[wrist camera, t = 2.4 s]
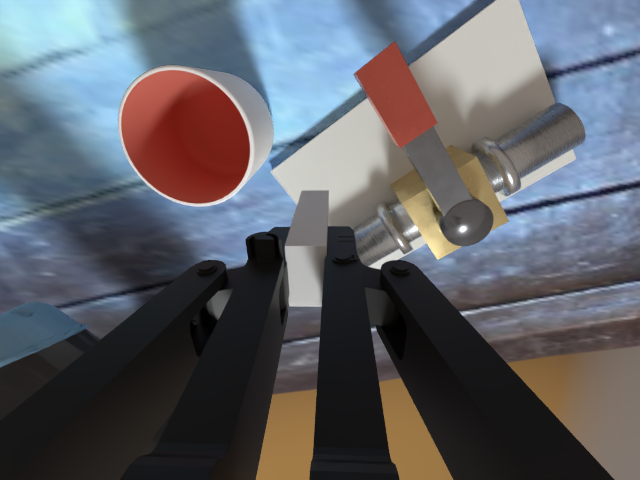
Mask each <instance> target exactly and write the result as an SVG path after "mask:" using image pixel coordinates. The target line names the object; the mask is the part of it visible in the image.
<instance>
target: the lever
mask: <svg viewBox="0 0 640 480" xmlns="http://www.w3.org/2000/svg"><path fill="white" fill-rule="evenodd" d="M353 75H354V77H355V78H356V80H357V82H358V83H359V85H360V87H361V88H362V90H363V92H364V93H365V95H366V97H367V98H368V100H369V102H370V103H371V105H372V107H373V108H374V110H375V112H376V113H377V115H378V117H379V118H380V120H381V122H382V123H383V125H384V127H385V128H386V130H387V132H388V133H389V135H390V137H391V138H392V140H393V142H394V143H395V145H396V146H398V147H399V148H402V149H403V150H404V152H405V154H406V155H407V157H408V159H409V160H410V162H411V164H412V165H413V167H414V169H415V171H416V172H417V174H418V176H419V177H420V179H421V181H422V182H423V184H424V186H425V187H426V189H427V191H428V193H429V194H430V196H431V198H432V199H433V201H434V203H435V204H436V206H437V208H438V209H439V210H438V212H437V215H436V224H437V227H438V229H439V230H440V231H441V233H442V234H443V235H444V236H445V238H446V239H447V240H448V241H449V242H450V243H452V244H454V245H457V246H470V245H473V244H476V243H478V242H480V241H481V240H482V239H484V238H485V237H486V236H487V235H488V233H489V232H490V230H491V228H492V226H493V221H494V218H493V213H492V211H491V209H490V208H489V207H488V206H487V205H486V204H484V203H483V202H482V201H480V200H479V199H477V198H476V197H474V196H472V195H470V194H469V192H468V190H467V188H466V186H465V184H464V182H463V181H462V179H461V177H460V175H459V173H458V171H457V169H456V167H455V166H454V164H453V162H452V160H451V158H450V156H449V154H448V152H447V151H446V149H445V147H444V145H443V143H442V141H441V139H440V137H439V136H438V134H437V132H436V130H435V128H434V125H436V124H437V123H438V122H437V120H436V119H435V117H434V115H433V113H432V111H431V109H430V107H429V105H428V103H427V101H426V99H425V98H424V96H423V94H422V92H421V90H420V88H419V86H418V84H417V82H416V80H415V79H414V77H413V75H412V73H411V71H410V69H409V67H408V65H407V63H406V61H405V60H404V58H403V56H402V54H401V52H400V50H399V48H398V46H397V44H396V42H393V43H392V44H391V45H389V46H388V47H387V48H385V49H384V50H383V51H382V52H380V53H379V54H378V55H377V56H375V57H374V58H373V59H372V60H370V61H369V62H368V63H367V64H365V65H364V66H363V67H362V68H360V69H359V70H358V71H357V72H355V73H354V74H353Z"/></svg>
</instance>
